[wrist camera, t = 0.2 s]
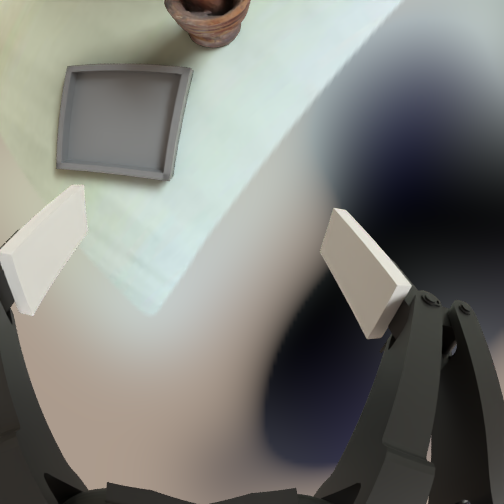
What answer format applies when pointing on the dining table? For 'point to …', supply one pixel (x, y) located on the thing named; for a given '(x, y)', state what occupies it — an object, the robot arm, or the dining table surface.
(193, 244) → the dining table surface
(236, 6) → the mortar and pestle
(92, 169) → the tray
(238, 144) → the dining table surface
